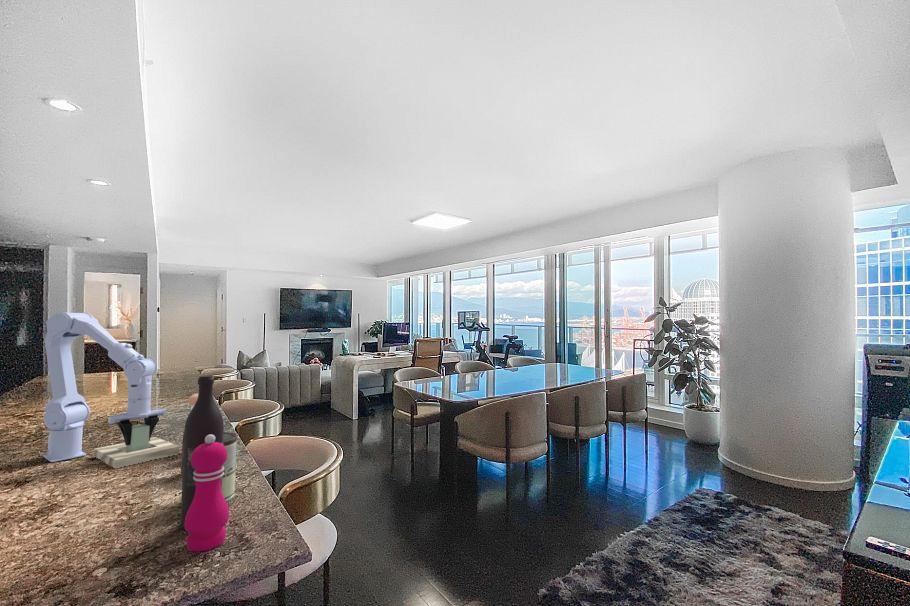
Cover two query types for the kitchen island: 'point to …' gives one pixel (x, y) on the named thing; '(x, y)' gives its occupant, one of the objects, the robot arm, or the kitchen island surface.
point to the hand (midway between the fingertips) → (137, 442)
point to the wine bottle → (199, 437)
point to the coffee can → (229, 466)
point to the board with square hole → (135, 453)
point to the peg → (139, 438)
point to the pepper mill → (207, 498)
